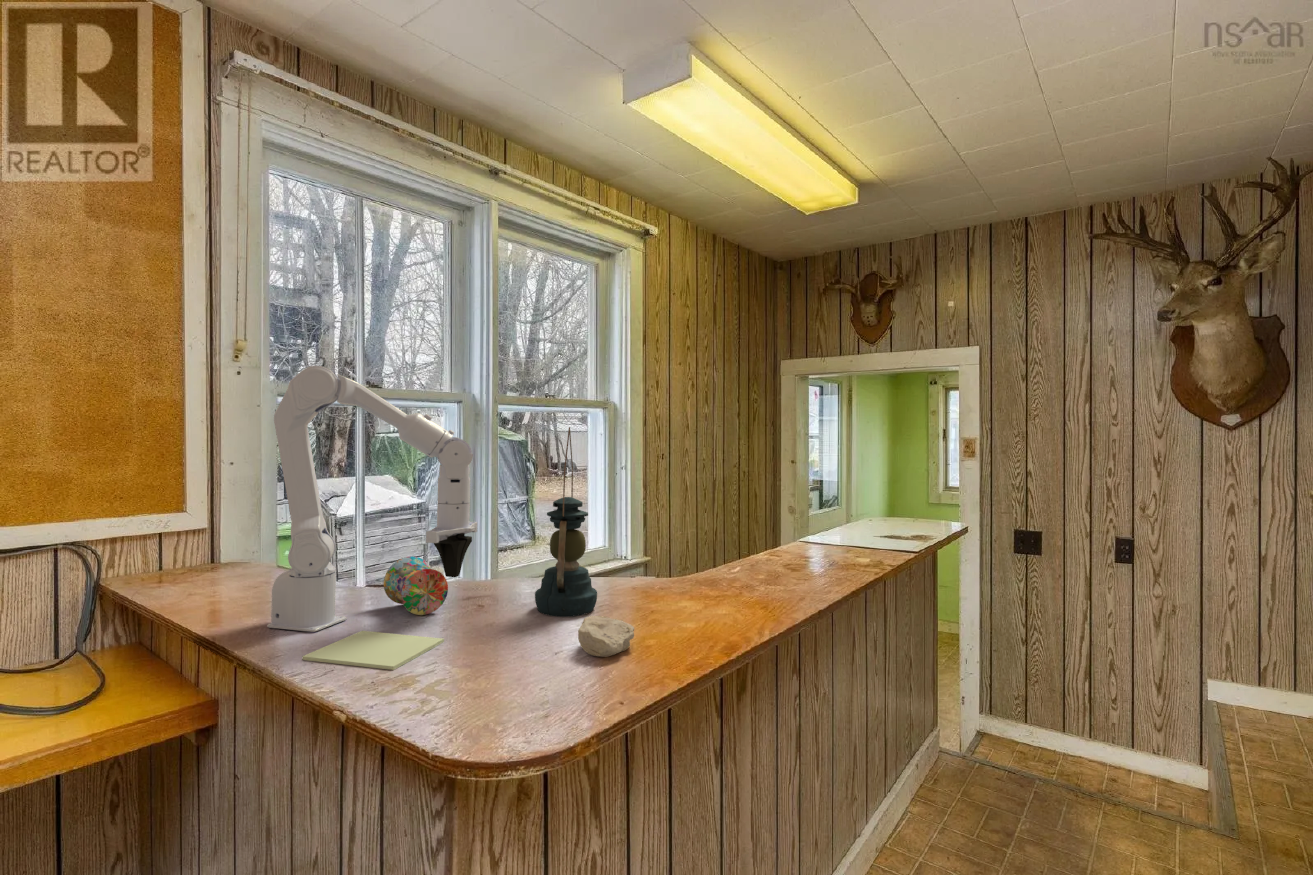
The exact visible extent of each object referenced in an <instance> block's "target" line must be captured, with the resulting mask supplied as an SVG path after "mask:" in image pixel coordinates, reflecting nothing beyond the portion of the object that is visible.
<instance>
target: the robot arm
mask: <svg viewBox="0 0 1313 875" xmlns="http://www.w3.org/2000/svg"><path fill="white" fill-rule="evenodd" d="M336 402H337V403H338V404H341V405H347V406H348V405H349V406H357V407H359V408H361V409H363V410H364V411H366V412H368V413H370V414H371V415H374V416H375V417H377V418H378V419H380V420H382V421H383V422H385V423H388V424H389V425H391V426H393V427H394V428H396V429H397V432H398V435H399V439H400V440H401V441H402V442H404V443H406V444H407V445H409V446H411V447H412V448H414V449H416V450H417V451H419V452H421V453H422V454H424V455H426V456H428V458H434V457H435V458H436V459H437V460H438V463H439V476H438V477H437V505H436V506H437V507H436V508H437V510H436V512H437V513H436V526H435V527H433V528H431V530H428V531H426V532H425V537H426V538H425V543H426V544H429V543H430V544H433V545H434V547H435V548H436V551H437V552H438V555H439V557H440V559H441V563H442V567H443V572H444V574H445V575H444V577H445V578H446V577H448V578H457V577H459V576H460V574H461V570H462V566H463V563H464V558H465V556H466V553H467V551H468V549H469V547H470V545H471V543H472V541H473V536H471V535H470V536H469V535H465V534H470V533H477V532H478V521H470V515H471V513H470V510H471V509H470V508H471V507H470V506H471V505H470V503H471V502H470V501H471V477H470V473H471V468H470V464H471V463H472V461H473V458H474V454H473V451H472V448H471V446H470V444H469V443H468V442H467V441H465V440H463V439H461V438H460V437H457V436H454V435H455V431H453V430H452V429H449V430H447V429H445V428H444V427H442V426H440V425H439V424H437V423H435V422H434V421H432V419H433V417H432V416H430V415H429V414H427V413H425V415H423V414H421V413H420V412H416V413H411V414H407V413H405V412H404V411H402V410H400V409H399V407H398V408H397V407H396V406H395V405H394V404H391V403H390V402H389V401H387V400H385V399H384V398H382V397H381V396H379V395H378V394H377V393H375V392H374V391H372V390H370V389H368V388H367V387H366V386H364V385H362V384H361V383H359V382H357V381H354V380H353V379H350V378H348V377H346V376H344V375H341V374H339V373H337V374H335V373H334V372H333V371H332V370H331V369H329V368H327V367H324V366H320V365H311V366H308V367H306V368H304V369H302V370H301V371H300V372H299V373H298V374H296V375H295V376H294V377H293V378H292V379H291V380H289V383H288V385H287V389H286V391H285V393H284V395H283V397H282V399H281V401H280V403H279V405H278V406H277V409H276V410H275V412H274V415H273V422H274V427H275V429H274V430H275V434H276V440H277V445H278V451H279V456H280V461H281V469H282V474H283V479H284V487H285V492H286V497H287V498H286V499H287V504H288V509H289V514H290V520H291V524H290V525H291V526H290V539H291V545H290V546H291V547H290V549H289V551H288V555H287V560H288V565H289V566H290V569H289V570H288V571H284V572H282V573H280V574H279V575H278V576H277V577H276V578H275V580H274V582H273V584H272V588H271V612H270V613H271V615H270V617H271V622H270V623H268V624H267V625H266V626H267V628H270V629H281V630H291V631H299V632H309V633H310V632H312V633H315V632H317V631H321V630H323V629H326V628H328V627H330V626H333V625H336V624H338V623H342V622H343V621H346V620H347V619H348V618H347V616H342V615H336V584H337V582H336V579H337V576H336V575H337V568H336V567H335V566H334V565H333V564H332V563H331V559H332V558H333V556H334V555H335V553H336V550H337V549H336V548H337V547H336V546H337V545H336V541H335V539H334V537H333V536H332V535H331V533H329V531H328V527H327V523H326V520H325V516H324V514H323V509H322V503H321V498H320V493H319V487H318V481H317V475H316V470H315V468H316V467H315V462H314V456H313V451H312V445H311V439H310V434H309V428H308V425H309V424H310V422H312V421H313V419H314V418H315V417H316V416H317V415H318V414H319V413H320V412H321V411H322V410H324V409H325V408H328V407H329V406H331V405H333V404H334V403H336Z"/></svg>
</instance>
